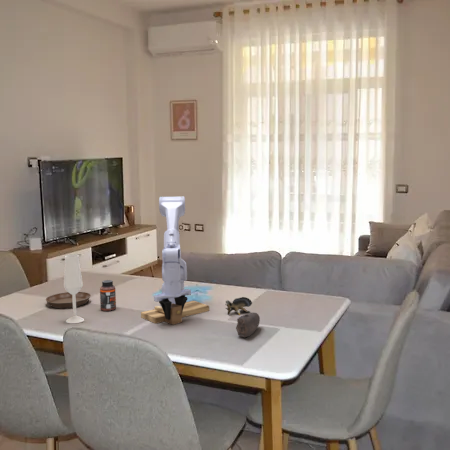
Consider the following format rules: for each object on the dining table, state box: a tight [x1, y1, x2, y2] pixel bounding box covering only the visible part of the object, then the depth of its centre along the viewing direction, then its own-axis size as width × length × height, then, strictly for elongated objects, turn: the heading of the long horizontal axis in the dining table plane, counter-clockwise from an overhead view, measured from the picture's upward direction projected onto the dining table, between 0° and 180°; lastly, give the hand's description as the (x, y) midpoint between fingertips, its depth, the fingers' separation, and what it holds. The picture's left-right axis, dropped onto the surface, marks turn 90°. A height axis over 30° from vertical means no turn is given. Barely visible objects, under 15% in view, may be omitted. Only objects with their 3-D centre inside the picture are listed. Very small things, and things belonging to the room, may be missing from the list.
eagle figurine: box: [225, 296, 253, 316], centre depth 210 cm, size 8×7×9 cm
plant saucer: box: [45, 291, 92, 309], centre depth 228 cm, size 18×18×3 cm
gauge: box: [154, 303, 183, 326], centre depth 203 cm, size 14×4×6 cm, turn 43°
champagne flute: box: [63, 254, 85, 324], centre depth 203 cm, size 7×7×24 cm
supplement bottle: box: [99, 279, 117, 312], centre depth 218 cm, size 6×6×11 cm
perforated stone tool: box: [235, 312, 261, 338], centre depth 187 cm, size 15×5×7 cm, turn 152°
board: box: [140, 300, 210, 325], centre depth 211 cm, size 10×24×2 cm, turn 129°
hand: (173, 317), depth 201 cm, fingers closed on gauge, 4 cm apart
